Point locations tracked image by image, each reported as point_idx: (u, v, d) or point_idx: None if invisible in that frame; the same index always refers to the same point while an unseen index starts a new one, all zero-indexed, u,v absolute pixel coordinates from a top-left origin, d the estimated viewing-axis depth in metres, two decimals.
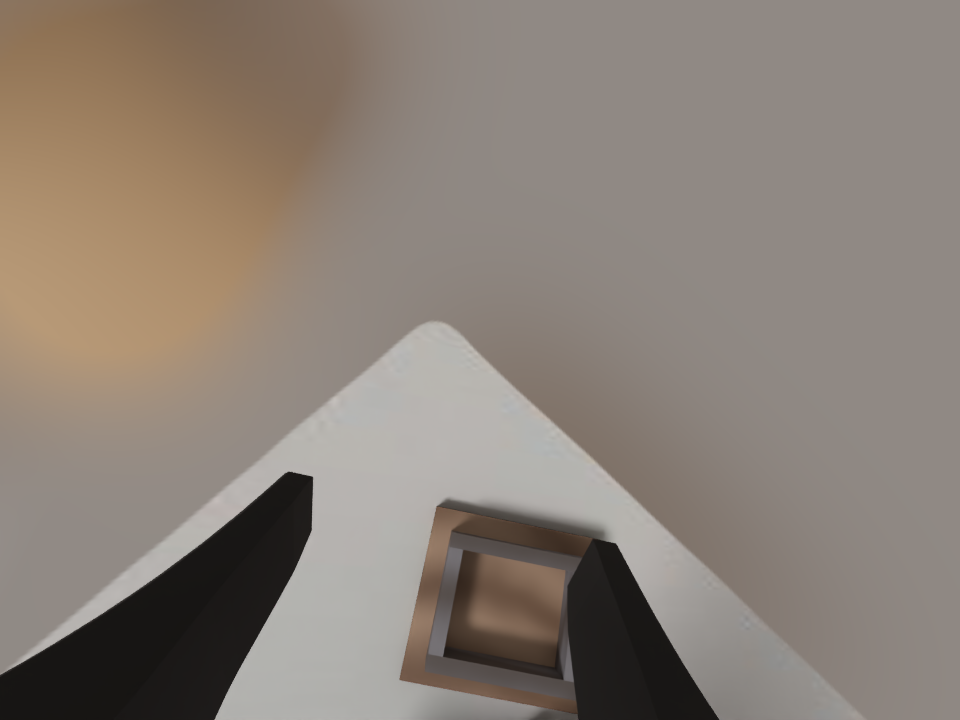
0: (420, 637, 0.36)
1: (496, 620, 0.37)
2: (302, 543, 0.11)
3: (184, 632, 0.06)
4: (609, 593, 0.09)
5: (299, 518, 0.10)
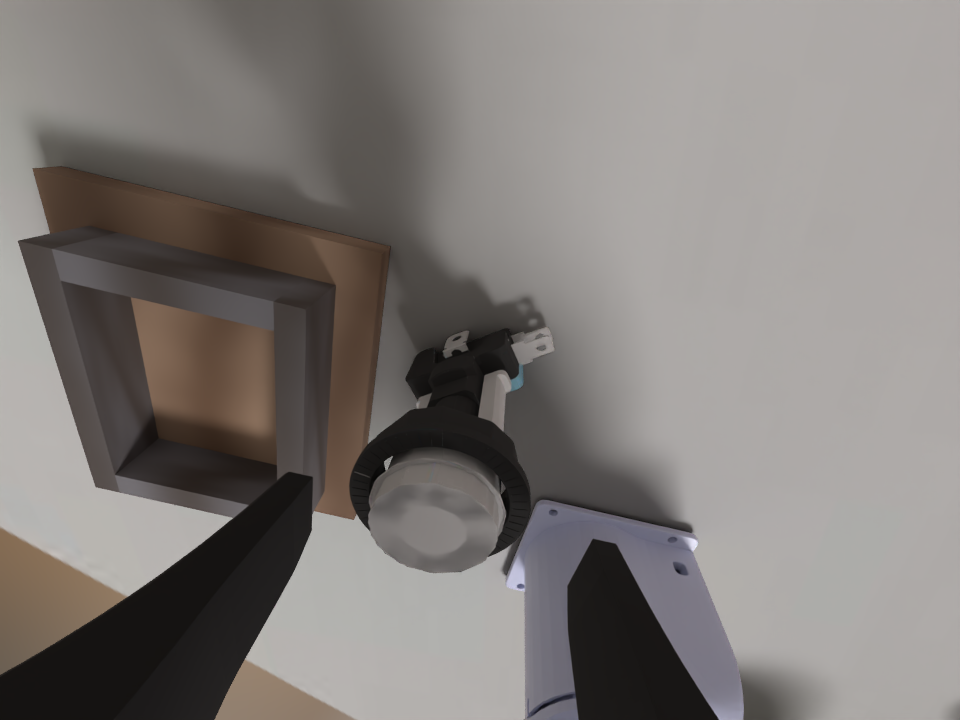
0: None
1: (253, 396, 0.21)
2: (302, 543, 0.11)
3: (184, 632, 0.06)
4: (608, 593, 0.09)
5: (299, 518, 0.10)
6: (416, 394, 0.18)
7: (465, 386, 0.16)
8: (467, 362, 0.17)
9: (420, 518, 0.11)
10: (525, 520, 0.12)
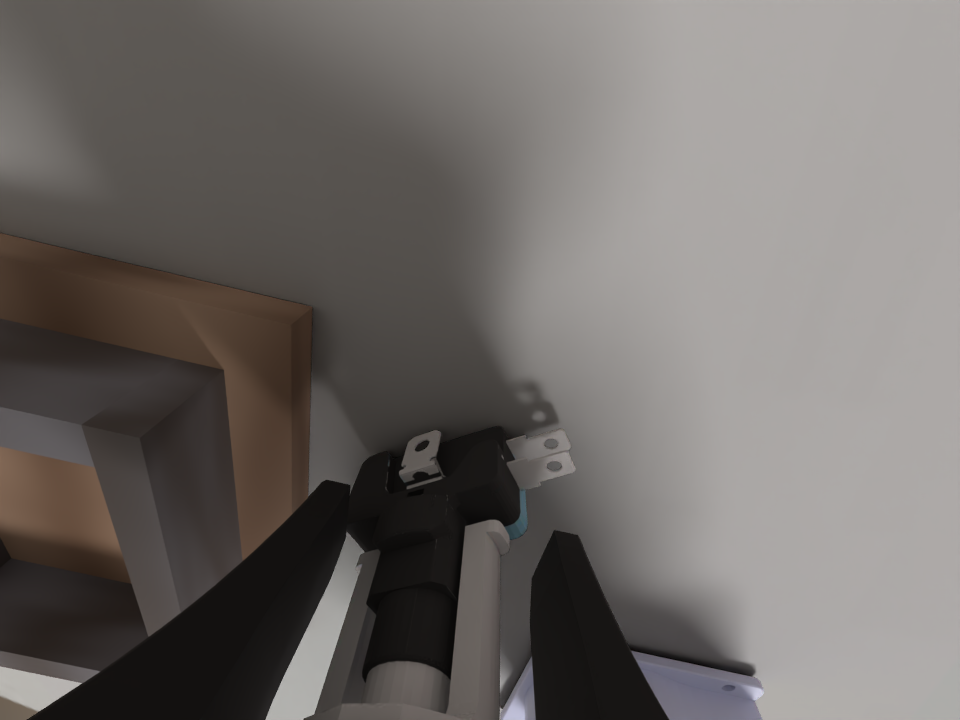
0: None
1: None
2: (338, 551, 0.11)
3: (244, 644, 0.06)
4: (564, 584, 0.09)
5: (338, 526, 0.10)
6: (358, 542, 0.12)
7: (431, 570, 0.09)
8: (436, 512, 0.10)
9: None
10: None
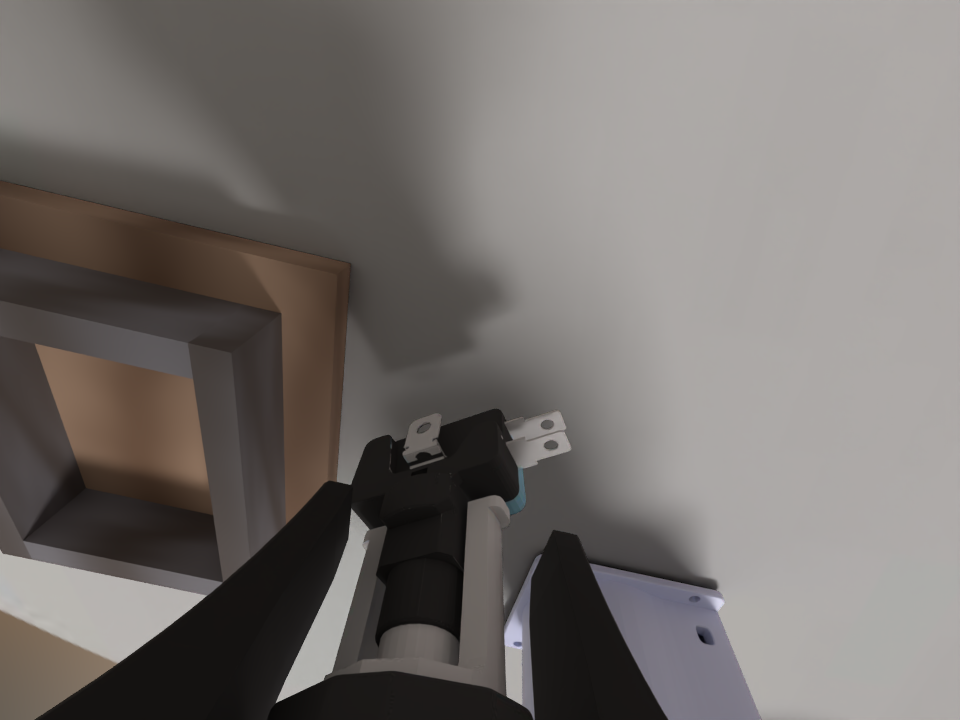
0: None
1: (192, 442, 0.17)
2: (341, 551, 0.11)
3: (249, 645, 0.06)
4: (563, 583, 0.09)
5: (340, 527, 0.10)
6: (364, 521, 0.12)
7: (438, 542, 0.10)
8: (440, 488, 0.10)
9: None
10: None
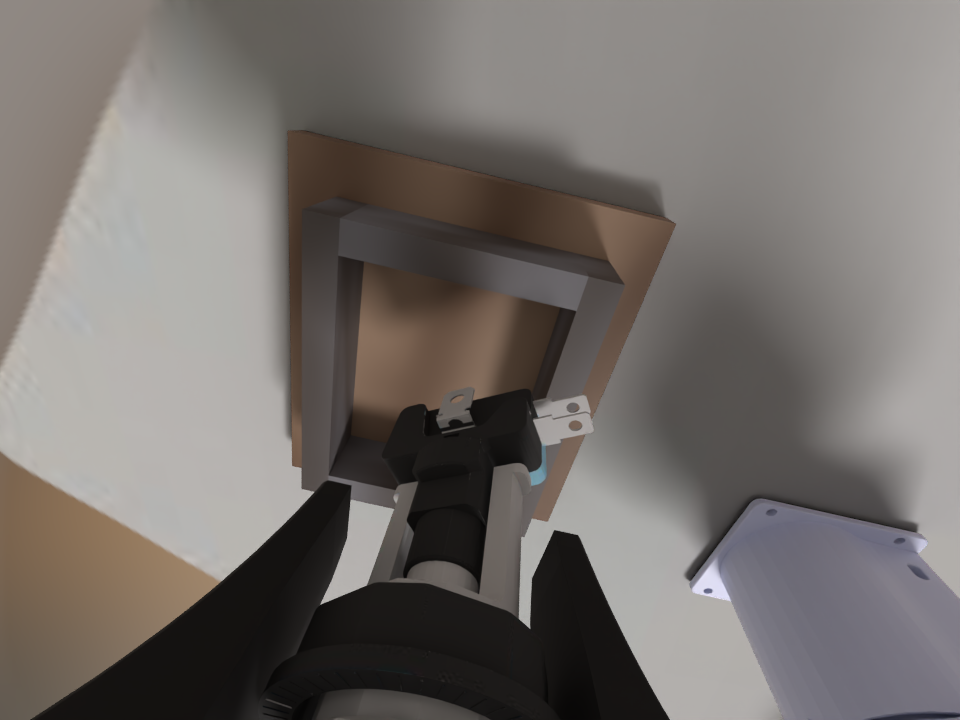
0: None
1: (473, 387, 0.19)
2: (339, 551, 0.11)
3: (247, 645, 0.06)
4: (564, 584, 0.09)
5: (339, 527, 0.10)
6: (395, 477, 0.13)
7: (465, 496, 0.10)
8: (470, 450, 0.11)
9: None
10: None
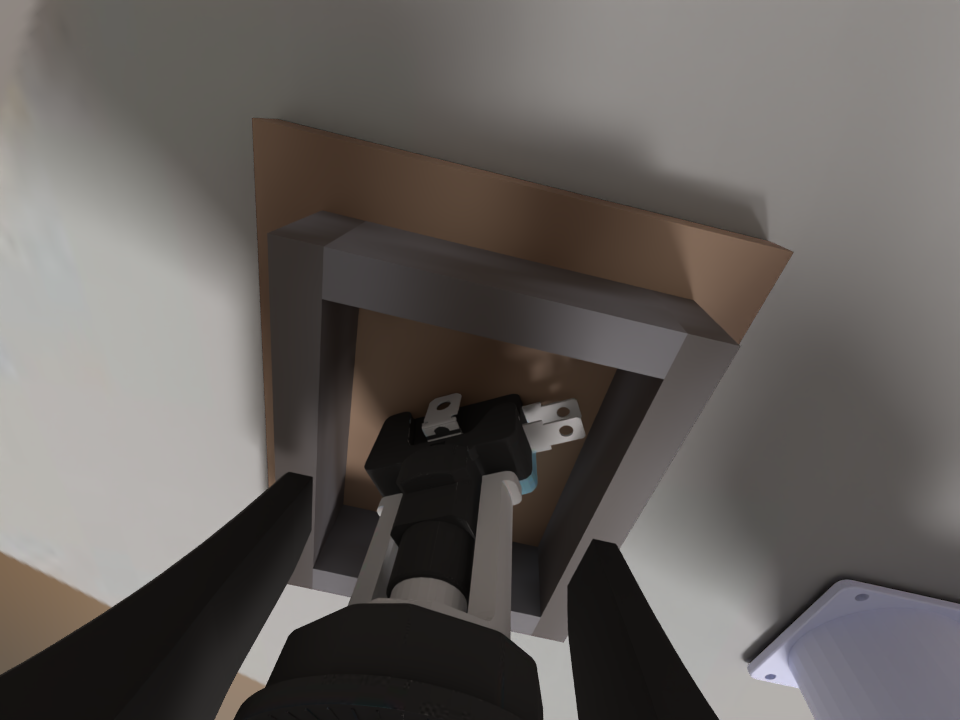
0: None
1: None
2: (302, 543, 0.11)
3: (184, 632, 0.06)
4: (609, 593, 0.09)
5: (299, 518, 0.10)
6: (379, 488, 0.12)
7: (453, 507, 0.10)
8: (457, 459, 0.11)
9: None
10: None
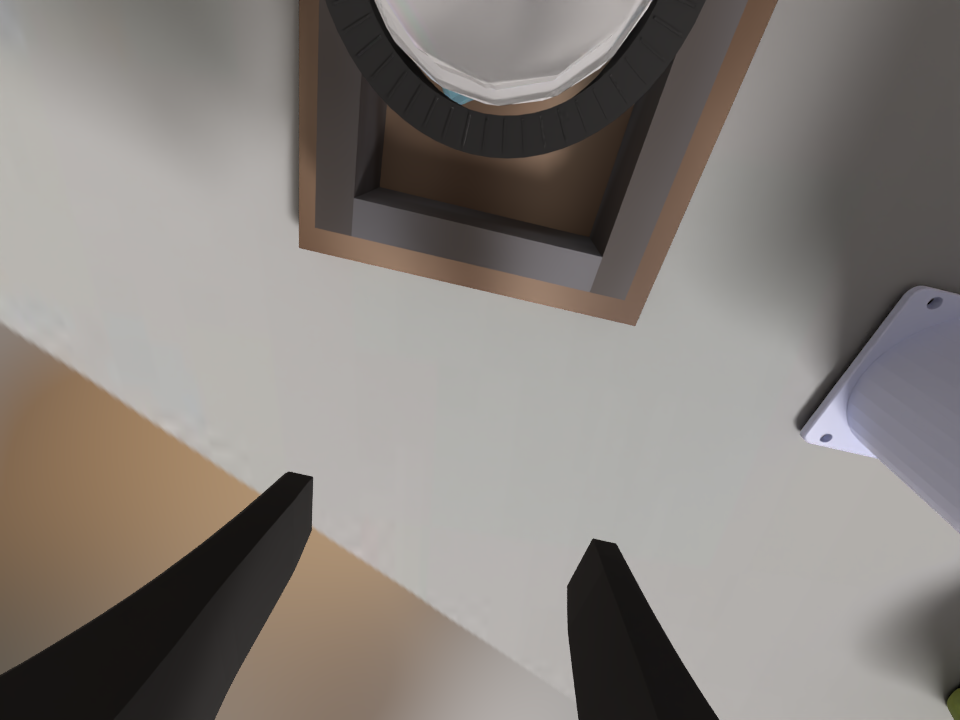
0: None
1: None
2: (302, 543, 0.11)
3: (184, 632, 0.06)
4: (608, 593, 0.09)
5: (299, 518, 0.10)
6: None
7: None
8: None
9: None
10: None
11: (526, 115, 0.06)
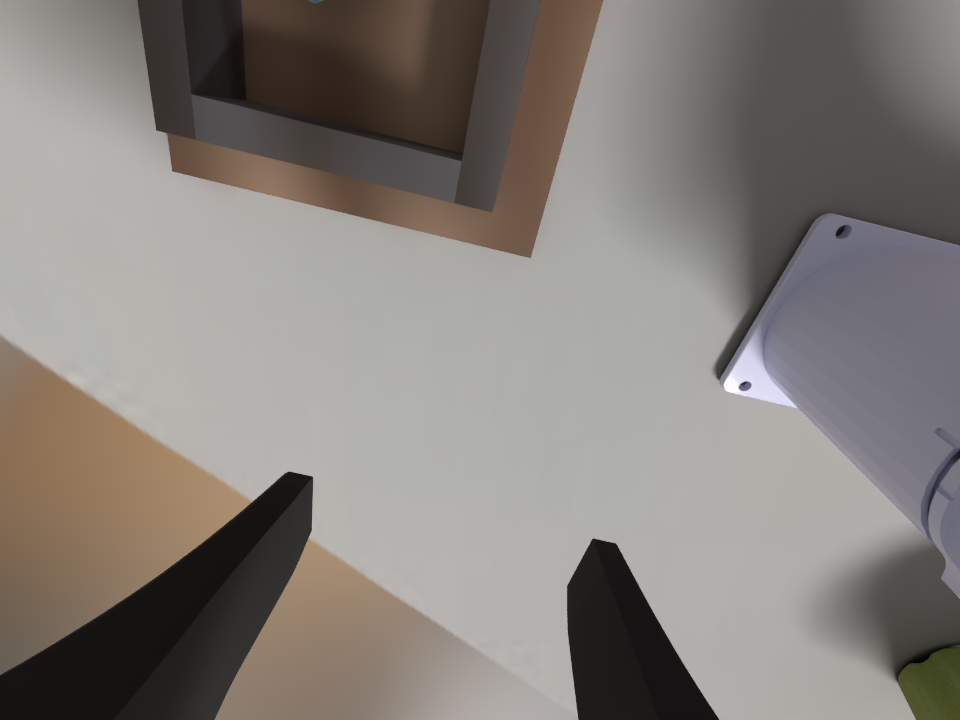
0: (453, 211, 0.16)
1: None
2: (302, 543, 0.11)
3: (184, 632, 0.06)
4: (608, 593, 0.09)
5: (299, 518, 0.10)
6: None
7: None
8: None
9: None
10: None
11: None
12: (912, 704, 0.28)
